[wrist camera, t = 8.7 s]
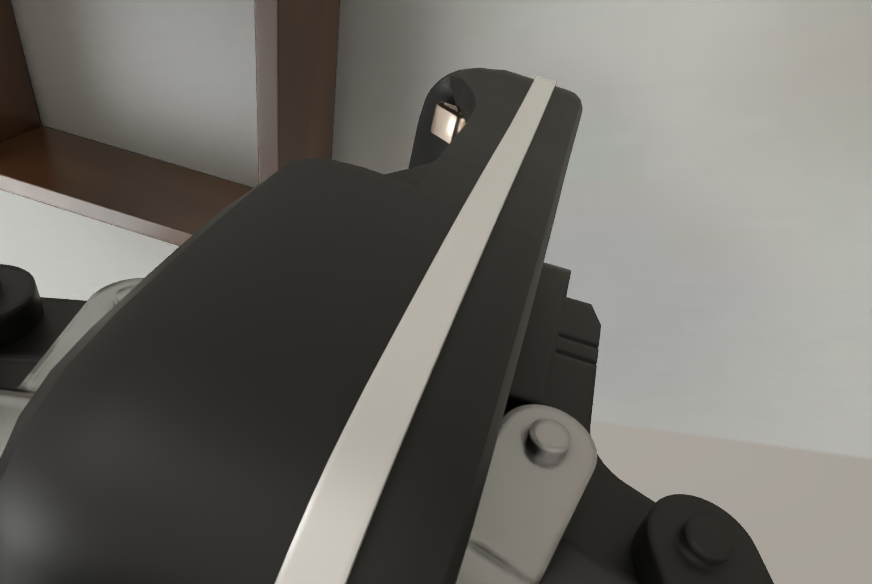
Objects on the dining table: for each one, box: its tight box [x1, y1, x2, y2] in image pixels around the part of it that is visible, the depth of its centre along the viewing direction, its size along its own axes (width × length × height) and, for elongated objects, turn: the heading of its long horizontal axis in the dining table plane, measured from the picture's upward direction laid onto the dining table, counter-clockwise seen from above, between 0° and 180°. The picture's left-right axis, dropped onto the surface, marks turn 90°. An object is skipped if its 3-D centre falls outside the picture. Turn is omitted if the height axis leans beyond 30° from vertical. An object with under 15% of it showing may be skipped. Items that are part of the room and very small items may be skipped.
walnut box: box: [0, 0, 340, 246], centre depth 22 cm, size 16×14×4 cm
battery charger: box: [0, 68, 582, 584], centre depth 10 cm, size 7×4×11 cm, turn 165°
